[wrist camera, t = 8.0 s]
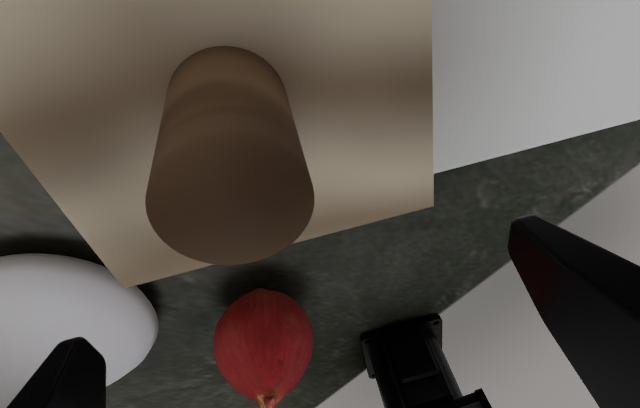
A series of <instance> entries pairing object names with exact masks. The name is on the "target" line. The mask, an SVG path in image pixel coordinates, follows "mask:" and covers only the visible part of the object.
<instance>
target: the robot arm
mask: <svg viewBox="0 0 640 408" xmlns="http://www.w3.org/2000/svg"><path fill="white" fill-rule="evenodd" d="M508 251H509V255H510V257H511V259H512V261H513V263H514V265H515V267H516V269H517V271H518V273H519V275H520V277H521V279H522V281H523V283H524V285H525V287H526V289H527V291H528V292H529V294H530V297H531V299H532V301H533V303H534V305H535V306H536V308H537V310H538V312H539V314H540V316H541V318H542V319H543V321H544V323H545V325H546V326H547V328H548V329H549V331H550V332H551V334H552V336H553V337H554V338H555V340H556V342H557V343H558V345H559V346H560V348H561V349H562V351H563V352H564V354H565V355H566V357H567V358H568V360H569V361H570V363H571V365H572V366H573V367H574V369H575V371H576V372H577V374H578V375H579V376H580V378H581V379H582V381H583V383H584V384H585V386H586V387H587V389H588V390H589V392H590V394H591V395H592V396H593V398H594V399H595V401H596V403H597V404H598V406H599V407H600V408H640V266H638V265H636V264H634V263H632V262H630V261H628V260H626V259H624V258H622V257H620V256H618V255H616V254H614V253H612V252H610V251H608V250H606V249H604V248H602V247H599V246H597V245H595V244H593V243H591V242H589V241H587V240H585V239H583V238H581V237H579V236H577V235H575V234H573V233H571V232H569V231H567V230H565V229H563V228H561V227H559V226H557V225H555V224H553V223H551V222H549V221H547V220H545V219H543V218H541V217H539V216H536V215H533V214H530V215H525V216H522V217H518V218H515V219H513V221H512V222H511V226H510V233H509V241H508ZM360 340H361V345H362V349H363V354H364V358H365V363H366V367H367V372H368V375H369V378H372V379H374V378H376V381H377V384H378V387H379V391H380V394H381V397H382V401H383V404H384V407H385V408H492V407H491V405H490V403H489V402H488V400H487V398H486V396H485V394H484V392H483V390H482V388H481V389H478V390H475V392H474V393H471V394H468V395H466V396H463V395H462V393H461V391H460V389H459V387H458V384H457V382H456V380H455V378H454V375H453V373H452V371H451V369H450V367H449V364H448V362H447V360H446V358H445V355H444V353H443V351H442V319H441V318H440V316H439V315H433V316H429V317H426V318H422V319H418V320H414V321H411V322H407V323H403V324H400V325H396V326H392V327H389V328H385V329H381V330H378V331H374V332H370V333H367V334H364V335H362V336H361V337H360ZM7 408H106V362H105V359H104V357H103V356H102V355H101V354H100V353H99V352H98V351H97V350H96V349H95V348H94V347H93V346H92V345H91V344H90V343H89V342H88V341H87V340H86V339H85V338H83V337H75V338H71V339H68V340H64V341H62V342H60V343H59V344H58V345H57V346H56V347H55V348H54V349H53V350H52V352H51V353H50V354H49V355H48V357H47V358H46V359H45V360H44V362H43V363H42V364H41V365H40V367H39V368H38V369H37V370H36V372H35V373H34V374H33V375H32V377H31V378H30V379H29V380H28V381H27V383H26V384H25V385H24V386H23V388H22V389H21V390H20V391H19V393H18V394H17V395H16V396H15V398H14V399H13V400H12V401H11V403H10V404H9V405H8V406H7Z"/></svg>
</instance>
